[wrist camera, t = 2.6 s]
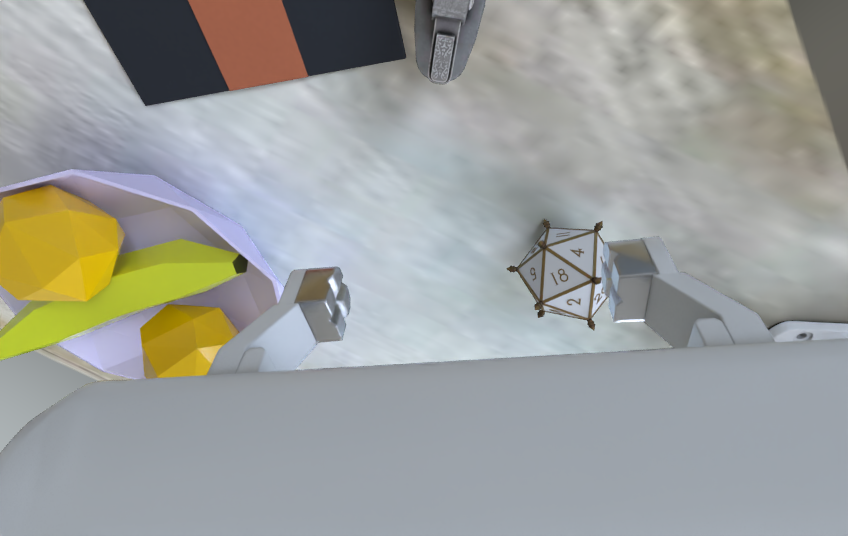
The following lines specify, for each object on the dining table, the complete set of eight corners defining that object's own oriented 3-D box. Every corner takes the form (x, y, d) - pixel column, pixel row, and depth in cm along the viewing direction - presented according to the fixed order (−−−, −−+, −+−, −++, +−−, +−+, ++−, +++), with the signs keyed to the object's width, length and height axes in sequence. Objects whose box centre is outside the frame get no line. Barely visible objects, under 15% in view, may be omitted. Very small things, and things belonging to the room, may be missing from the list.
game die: (559, 198, 44) (621, 195, 34) (604, 275, 45) (677, 293, 35) (478, 255, 43) (518, 269, 33) (527, 330, 45) (579, 365, 35)
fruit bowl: (278, 141, 38) (223, 230, 29) (317, 357, 56) (289, 450, 47) (-71, 118, 38) (-222, 198, 30) (79, 338, 57) (11, 427, 48)
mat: (366, -131, 26) (365, -131, 26) (406, 56, 33) (405, 59, 32) (56, -51, 30) (52, -50, 30) (147, 104, 36) (144, 106, 36)
